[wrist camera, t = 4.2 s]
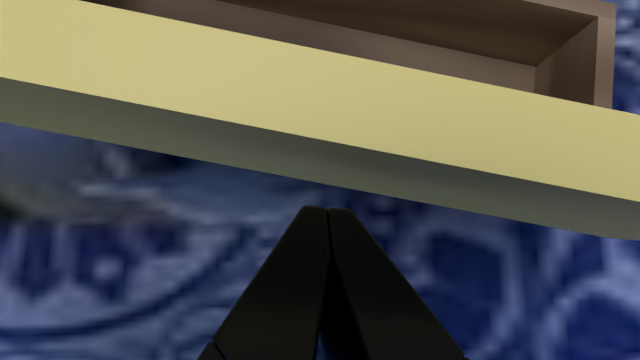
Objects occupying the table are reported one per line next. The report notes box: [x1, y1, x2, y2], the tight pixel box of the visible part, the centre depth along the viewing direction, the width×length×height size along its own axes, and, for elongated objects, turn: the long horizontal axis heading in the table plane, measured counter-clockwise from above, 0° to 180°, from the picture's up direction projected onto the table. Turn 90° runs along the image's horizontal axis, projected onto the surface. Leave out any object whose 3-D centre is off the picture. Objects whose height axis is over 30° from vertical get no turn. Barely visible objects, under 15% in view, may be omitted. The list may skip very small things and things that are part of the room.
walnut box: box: [80, 0, 616, 109], centre depth 17 cm, size 6×18×5 cm, turn 80°
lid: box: [0, 0, 640, 240], centre depth 10 cm, size 7×18×1 cm
